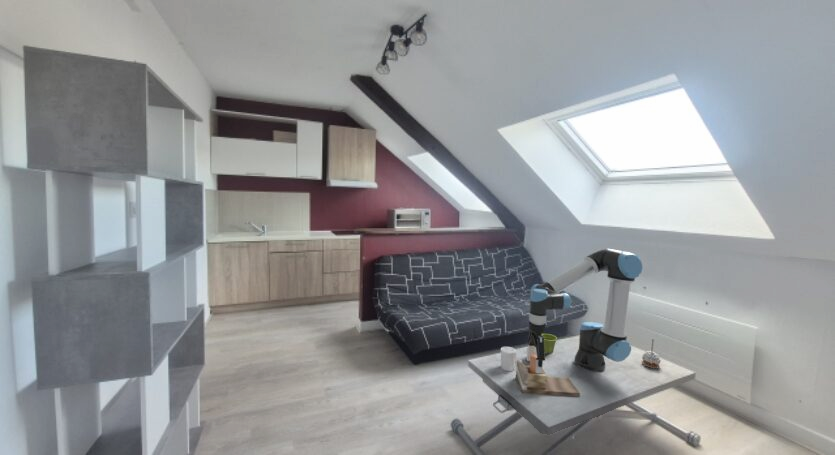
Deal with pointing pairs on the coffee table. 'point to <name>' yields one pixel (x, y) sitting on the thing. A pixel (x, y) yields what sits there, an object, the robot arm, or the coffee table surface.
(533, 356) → the dowel
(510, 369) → the white cup
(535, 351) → the medicine bottle
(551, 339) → the plant pot
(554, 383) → the board
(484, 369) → the coffee table surface
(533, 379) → the open wooden box
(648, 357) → the cupcake with stick
